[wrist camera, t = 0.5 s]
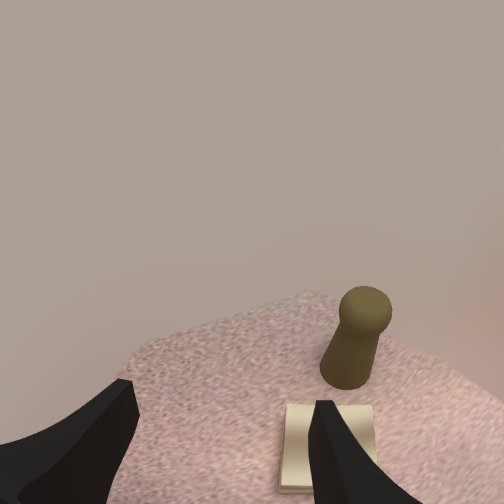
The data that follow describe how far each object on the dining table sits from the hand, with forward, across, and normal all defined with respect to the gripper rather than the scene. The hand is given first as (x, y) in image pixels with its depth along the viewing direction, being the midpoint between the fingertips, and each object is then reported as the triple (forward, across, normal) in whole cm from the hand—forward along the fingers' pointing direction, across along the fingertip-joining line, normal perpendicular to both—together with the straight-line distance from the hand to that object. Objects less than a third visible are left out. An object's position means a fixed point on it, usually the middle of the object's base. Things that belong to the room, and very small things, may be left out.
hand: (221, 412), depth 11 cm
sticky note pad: (+10, -8, +16) cm, 21 cm away
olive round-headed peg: (+20, -11, +13) cm, 27 cm away
